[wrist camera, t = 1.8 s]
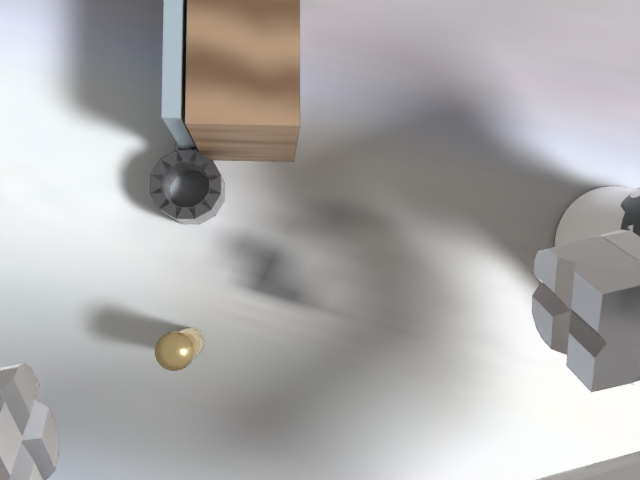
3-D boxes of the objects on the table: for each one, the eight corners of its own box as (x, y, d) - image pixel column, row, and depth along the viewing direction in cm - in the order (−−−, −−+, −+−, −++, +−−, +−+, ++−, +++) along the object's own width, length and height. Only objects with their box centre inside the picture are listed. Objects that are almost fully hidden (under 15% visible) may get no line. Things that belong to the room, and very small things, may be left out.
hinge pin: (211, 347, 63) (200, 357, 53) (183, 364, 63) (167, 377, 53) (196, 319, 63) (182, 324, 53) (167, 336, 63) (148, 344, 53)
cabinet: (293, 161, 66) (299, 125, 52) (203, 160, 65) (185, 123, 51) (293, -30, 68) (299, -114, 54) (205, -34, 67) (188, -120, 53)
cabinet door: (199, 154, 64) (180, 117, 51) (174, 154, 64) (149, 117, 51) (201, -36, 66) (184, -120, 53) (178, -37, 66) (154, -122, 53)
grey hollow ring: (224, 224, 64) (220, 219, 60) (158, 224, 64) (149, 218, 59) (225, 128, 65) (221, 116, 61) (159, 127, 65) (151, 115, 60)
